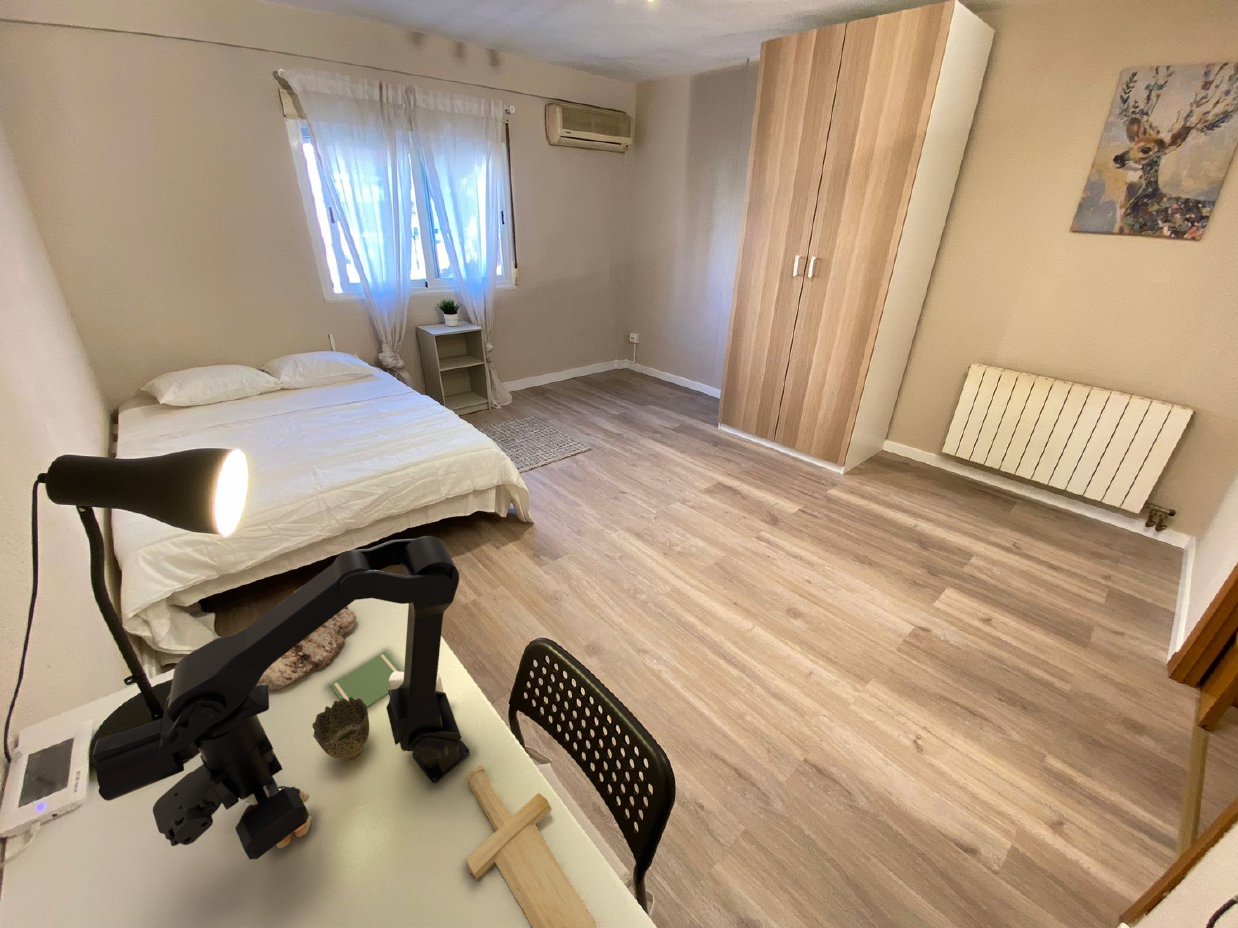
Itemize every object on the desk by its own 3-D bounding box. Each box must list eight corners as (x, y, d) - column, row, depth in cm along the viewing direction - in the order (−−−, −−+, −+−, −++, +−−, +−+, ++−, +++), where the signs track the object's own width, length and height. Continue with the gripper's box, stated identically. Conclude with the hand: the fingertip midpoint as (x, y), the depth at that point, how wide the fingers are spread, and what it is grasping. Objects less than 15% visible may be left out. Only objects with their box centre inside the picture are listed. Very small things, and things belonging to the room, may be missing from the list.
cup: (326, 738, 81) (313, 706, 77) (376, 721, 84) (366, 689, 80) (324, 782, 75) (310, 750, 71) (378, 762, 78) (367, 730, 74)
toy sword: (438, 809, 73) (558, 1046, 53) (432, 800, 71) (555, 1041, 52) (511, 750, 79) (642, 943, 60) (507, 740, 77) (642, 935, 58)
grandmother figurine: (314, 802, 72) (284, 747, 67) (323, 822, 70) (292, 767, 64) (253, 845, 68) (214, 791, 62) (260, 869, 65) (220, 814, 59)
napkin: (408, 679, 91) (408, 678, 91) (352, 717, 84) (352, 716, 84) (384, 652, 96) (384, 650, 96) (330, 685, 89) (329, 684, 89)
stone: (214, 683, 89) (279, 722, 86) (202, 654, 84) (270, 694, 81) (321, 598, 107) (378, 628, 104) (316, 570, 103) (375, 600, 99)
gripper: (128, 737, 59) (177, 811, 66) (165, 864, 48) (219, 935, 56) (239, 679, 66) (272, 751, 74) (293, 777, 56) (325, 850, 63)
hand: (271, 815), depth 66 cm, fingers closed on grandmother figurine, 6 cm apart
